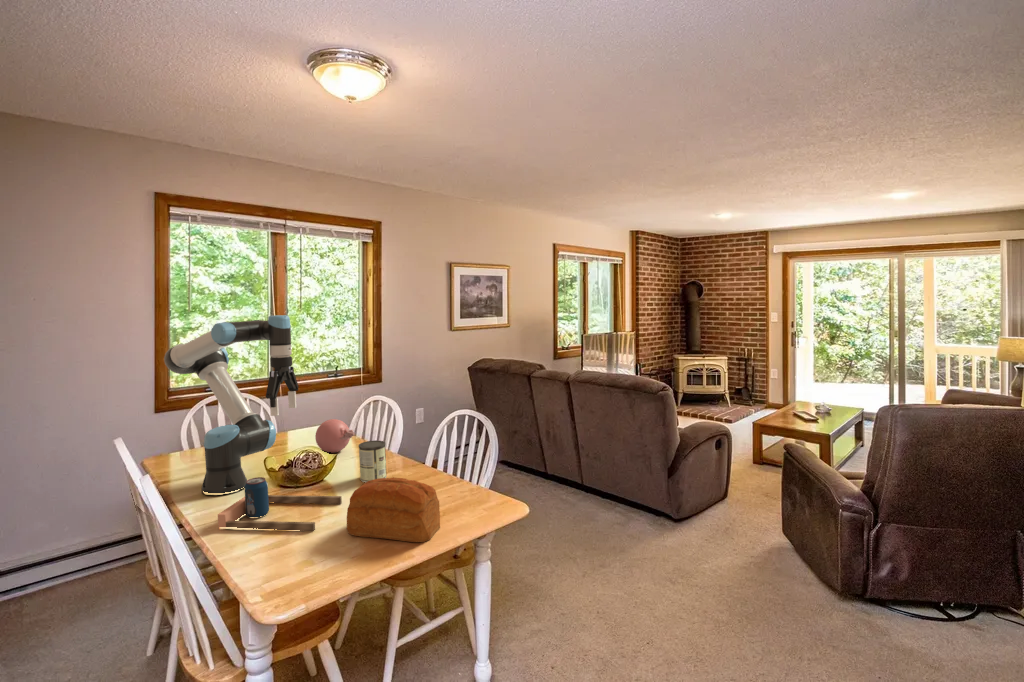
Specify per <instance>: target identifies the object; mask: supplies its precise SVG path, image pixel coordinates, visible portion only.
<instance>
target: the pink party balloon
mask: <svg viewBox="0 0 1024 682" xmlns="http://www.w3.org/2000/svg"><path fill="white" fill-rule="evenodd" d="M355 434H356V433H355V432H354V429H350V428H349V426H348V424H346V422H344V421H342V420H340V419H336V418H332V419H331V418H330V419H327V420H325V421H323V422H322V423H321V424H320V425H319V426H318V427H317V429H316V432H315V436H314V437H315V442H316V445H317V447H319V448H320V449H321V450H322V451H323V450H324V451H323V452H325V451H327V452H326V453H329V452H331V453H330V454H332V453H338V452H341V451H343V450H344V449H345V448H346V447H347V446H348V445H349V442H350V440H351V438H353V437H354V436H355Z"/></svg>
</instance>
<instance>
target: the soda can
mask: <svg viewBox="0 0 1024 682" xmlns="http://www.w3.org/2000/svg"><path fill="white" fill-rule="evenodd" d="M244 488H245V489H244V497H245V505H246V517H247V518H249V517H260V516H264V515H266V514H267V515H268V514H269V512H270V511H269V510H270V503H269V499H268V495H269V483H268V481H267V480H266V478H265V477H260V476H257V477H252V478H250V479H247V481H246V485H245V487H244ZM267 515H266V516H267ZM264 517H265V516H264Z"/></svg>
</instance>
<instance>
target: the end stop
mask: <svg viewBox="0 0 1024 682" xmlns="http://www.w3.org/2000/svg"><path fill="white" fill-rule="evenodd" d="M244 514H246V505H245V496H244V497H242V498H240V499H238V500H237V501H236V502H235V503H233V504H231V505H230V506H228V507H227V508H225V509H224V510H222V511H221V512H219V513H218V514H217V523H218V528H219V527H226V522H227V521H235V520H237V519H238V518H240V517H241V516H242V515H244Z"/></svg>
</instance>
